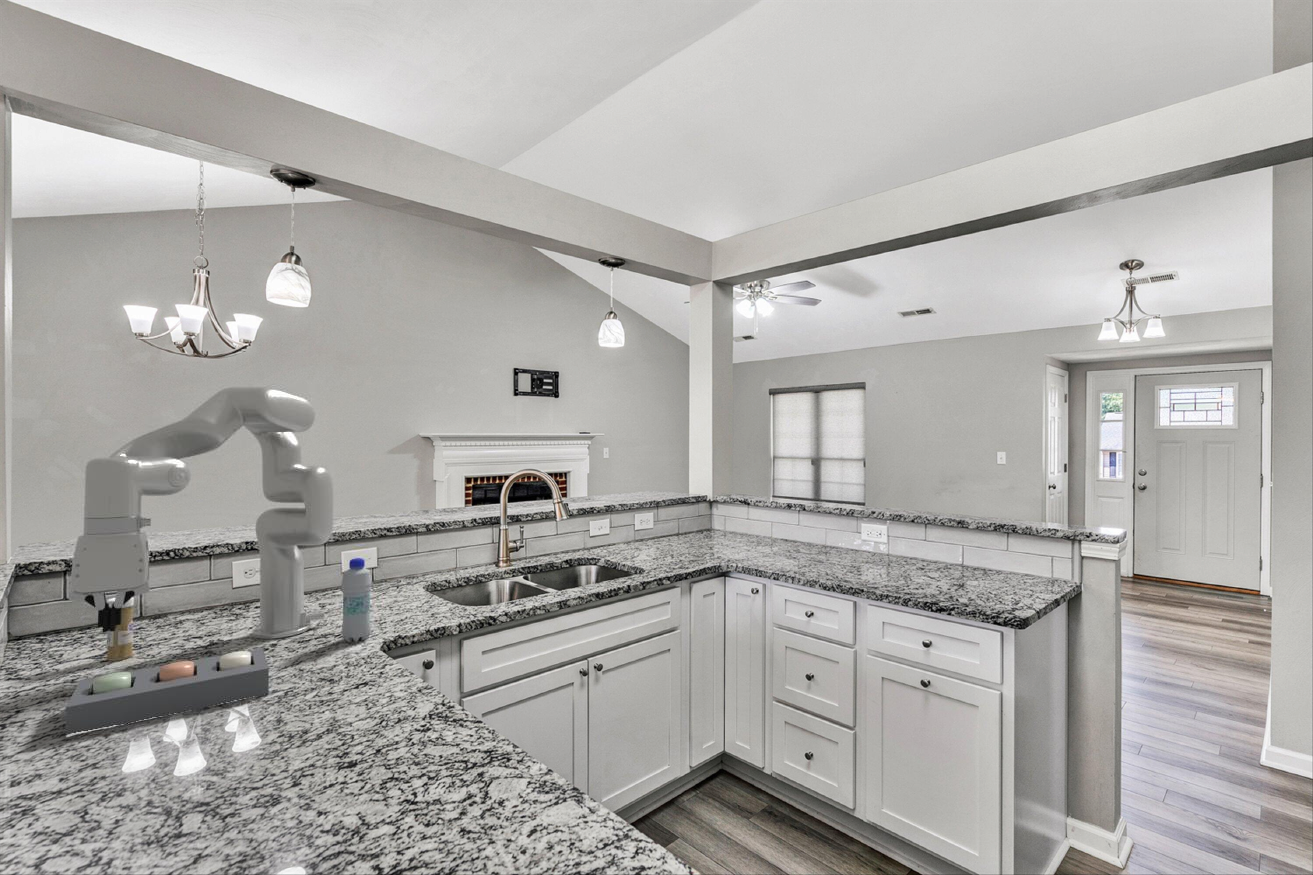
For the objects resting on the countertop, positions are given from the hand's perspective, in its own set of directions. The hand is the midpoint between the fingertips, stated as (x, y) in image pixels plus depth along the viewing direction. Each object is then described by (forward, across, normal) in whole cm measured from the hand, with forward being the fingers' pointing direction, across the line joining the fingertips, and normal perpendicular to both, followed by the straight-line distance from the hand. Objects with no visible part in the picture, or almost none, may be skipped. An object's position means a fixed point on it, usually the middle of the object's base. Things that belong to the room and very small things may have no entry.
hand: (109, 629), depth 106 cm
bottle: (+14, -44, -19) cm, 50 cm away
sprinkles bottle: (+15, +1, -37) cm, 40 cm away
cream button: (+12, -19, -1) cm, 22 cm away
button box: (+15, -10, -1) cm, 18 cm away
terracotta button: (+12, -10, -1) cm, 15 cm away
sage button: (+12, -1, -1) cm, 12 cm away
